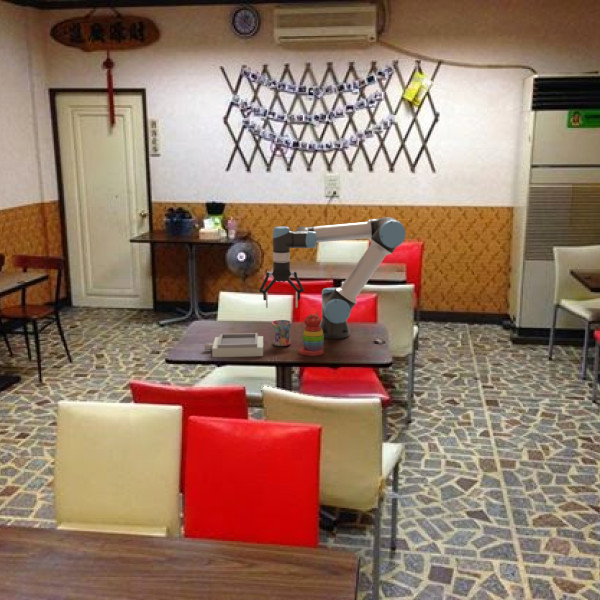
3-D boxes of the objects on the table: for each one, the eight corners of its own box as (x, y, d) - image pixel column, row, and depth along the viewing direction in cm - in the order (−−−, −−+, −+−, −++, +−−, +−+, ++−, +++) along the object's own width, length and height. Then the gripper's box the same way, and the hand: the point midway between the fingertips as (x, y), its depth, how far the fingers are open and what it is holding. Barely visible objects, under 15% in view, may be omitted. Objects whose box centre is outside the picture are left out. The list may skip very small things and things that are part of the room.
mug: (288, 348, 303) (288, 325, 300) (269, 346, 305) (268, 324, 303) (296, 340, 314) (295, 319, 311) (277, 339, 316) (276, 317, 314)
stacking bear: (311, 347, 304) (311, 309, 299) (329, 351, 297) (329, 313, 293) (296, 353, 296) (295, 314, 291) (314, 357, 289) (314, 318, 285)
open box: (263, 344, 309) (263, 333, 307) (263, 356, 292) (262, 344, 291) (206, 345, 308) (206, 334, 306) (203, 357, 291) (202, 345, 290)
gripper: (308, 259, 305) (308, 304, 310) (253, 259, 303) (254, 305, 308) (309, 262, 297) (309, 308, 302) (253, 262, 296) (254, 309, 301)
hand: (281, 307), depth 305 cm, fingers open, 13 cm apart
